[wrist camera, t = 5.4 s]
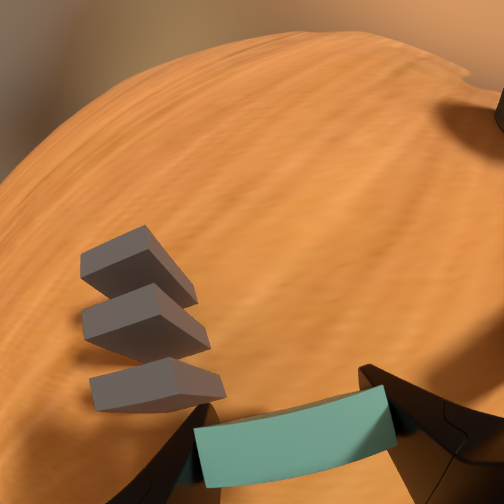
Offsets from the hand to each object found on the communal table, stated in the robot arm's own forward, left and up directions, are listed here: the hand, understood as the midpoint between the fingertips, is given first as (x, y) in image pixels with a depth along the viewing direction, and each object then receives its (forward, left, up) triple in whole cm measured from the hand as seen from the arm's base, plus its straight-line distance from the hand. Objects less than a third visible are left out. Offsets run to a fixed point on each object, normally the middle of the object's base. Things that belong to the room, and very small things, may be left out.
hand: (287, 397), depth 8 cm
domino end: (-3, +12, -11) cm, 17 cm away
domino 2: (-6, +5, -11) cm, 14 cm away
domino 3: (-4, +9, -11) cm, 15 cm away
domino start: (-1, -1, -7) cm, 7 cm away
